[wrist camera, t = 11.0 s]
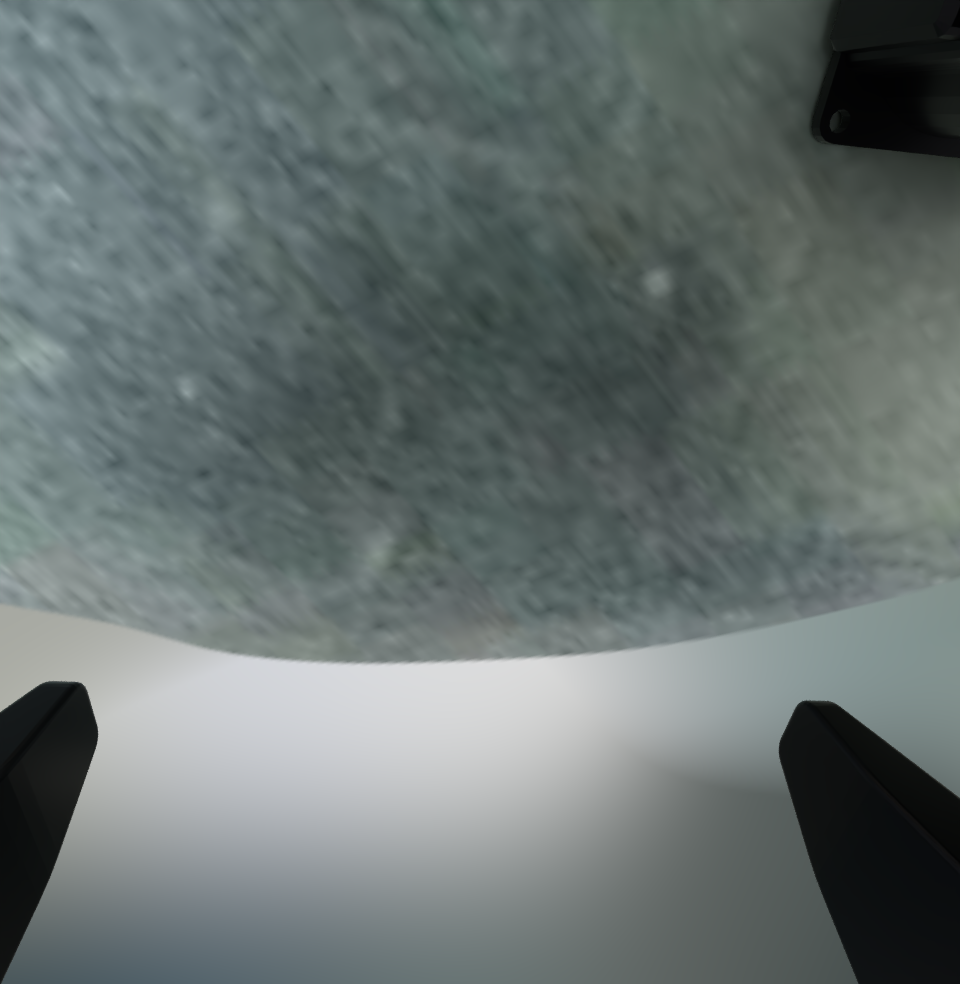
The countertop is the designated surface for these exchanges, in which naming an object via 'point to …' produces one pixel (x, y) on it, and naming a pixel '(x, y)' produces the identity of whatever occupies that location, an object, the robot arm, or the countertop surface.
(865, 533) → the countertop surface
